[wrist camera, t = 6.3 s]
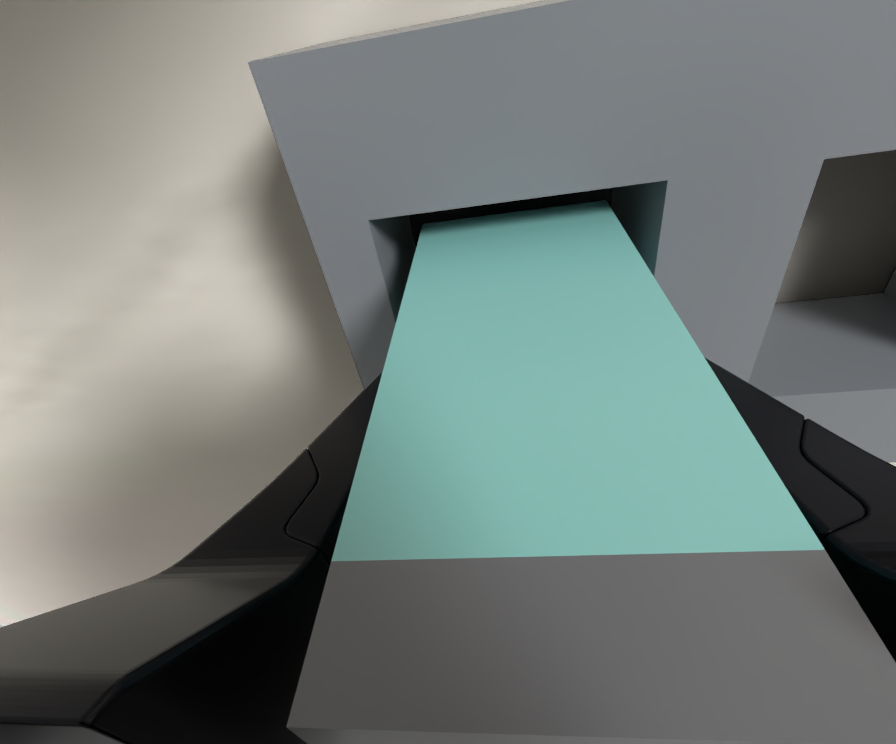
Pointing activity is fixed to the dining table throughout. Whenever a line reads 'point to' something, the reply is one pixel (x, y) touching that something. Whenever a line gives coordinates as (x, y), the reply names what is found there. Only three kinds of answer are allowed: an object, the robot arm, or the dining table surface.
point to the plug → (573, 525)
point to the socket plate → (613, 164)
